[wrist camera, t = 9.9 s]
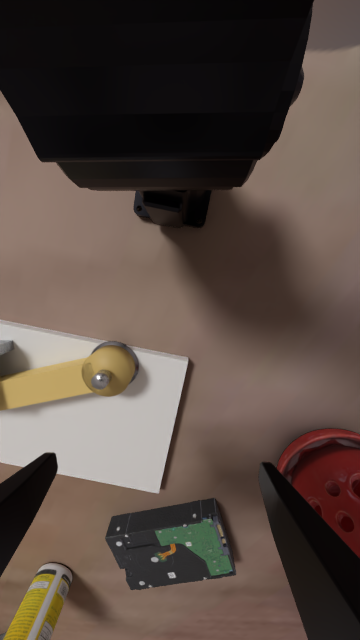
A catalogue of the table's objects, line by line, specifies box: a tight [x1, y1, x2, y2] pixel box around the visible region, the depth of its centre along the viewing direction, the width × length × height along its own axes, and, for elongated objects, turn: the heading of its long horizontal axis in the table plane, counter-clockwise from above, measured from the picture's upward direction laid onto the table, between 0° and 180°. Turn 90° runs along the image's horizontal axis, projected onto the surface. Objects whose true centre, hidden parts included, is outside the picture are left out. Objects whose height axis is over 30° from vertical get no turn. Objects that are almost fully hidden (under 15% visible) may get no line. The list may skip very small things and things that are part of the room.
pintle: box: [91, 341, 139, 390], centre depth 17 cm, size 5×5×3 cm
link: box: [0, 345, 135, 411], centre depth 18 cm, size 16×5×2 cm, turn 103°
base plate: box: [0, 320, 188, 494], centre depth 21 cm, size 18×26×1 cm
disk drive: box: [105, 498, 236, 590], centre depth 24 cm, size 10×3×15 cm
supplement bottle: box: [3, 563, 72, 640], centre depth 23 cm, size 5×5×10 cm
